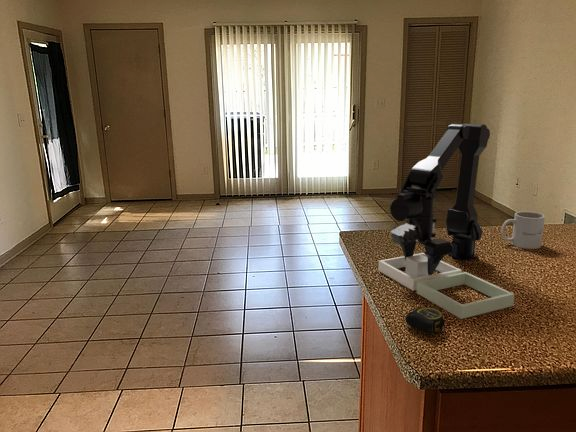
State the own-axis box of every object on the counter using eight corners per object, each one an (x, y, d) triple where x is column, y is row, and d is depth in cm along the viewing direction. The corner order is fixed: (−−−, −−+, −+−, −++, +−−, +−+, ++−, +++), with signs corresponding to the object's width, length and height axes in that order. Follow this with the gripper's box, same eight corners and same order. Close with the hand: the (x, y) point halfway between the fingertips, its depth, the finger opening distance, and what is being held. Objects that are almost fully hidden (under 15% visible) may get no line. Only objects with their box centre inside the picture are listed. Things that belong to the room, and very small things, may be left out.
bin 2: (464, 282, 126) (465, 271, 125) (512, 305, 112) (514, 294, 111) (416, 292, 120) (417, 281, 119) (461, 318, 106) (462, 306, 105)
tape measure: (403, 327, 103) (404, 311, 102) (424, 318, 107) (425, 303, 106) (428, 340, 98) (429, 323, 97) (450, 330, 101) (451, 314, 100)
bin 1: (423, 262, 141) (423, 252, 140) (461, 280, 127) (461, 270, 126) (378, 270, 135) (378, 260, 134) (413, 290, 121) (413, 279, 120)
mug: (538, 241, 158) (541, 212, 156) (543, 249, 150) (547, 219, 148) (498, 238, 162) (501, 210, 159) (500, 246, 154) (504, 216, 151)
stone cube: (419, 271, 134) (421, 254, 133) (431, 277, 130) (432, 260, 129) (405, 274, 132) (406, 257, 131) (416, 280, 128) (417, 263, 127)
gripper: (376, 209, 132) (374, 262, 136) (420, 226, 115) (416, 286, 119) (409, 205, 136) (407, 257, 140) (456, 221, 120) (451, 279, 124)
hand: (418, 269), depth 131 cm, fingers open, 9 cm apart
